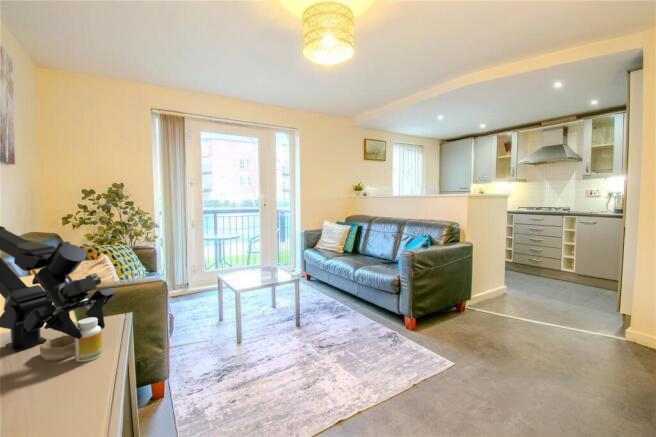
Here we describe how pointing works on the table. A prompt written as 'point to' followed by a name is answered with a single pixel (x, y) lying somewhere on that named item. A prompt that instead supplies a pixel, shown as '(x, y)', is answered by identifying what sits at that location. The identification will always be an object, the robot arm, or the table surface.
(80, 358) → the supplement bottle
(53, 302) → the robot arm
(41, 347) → the can holder
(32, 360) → the table surface
